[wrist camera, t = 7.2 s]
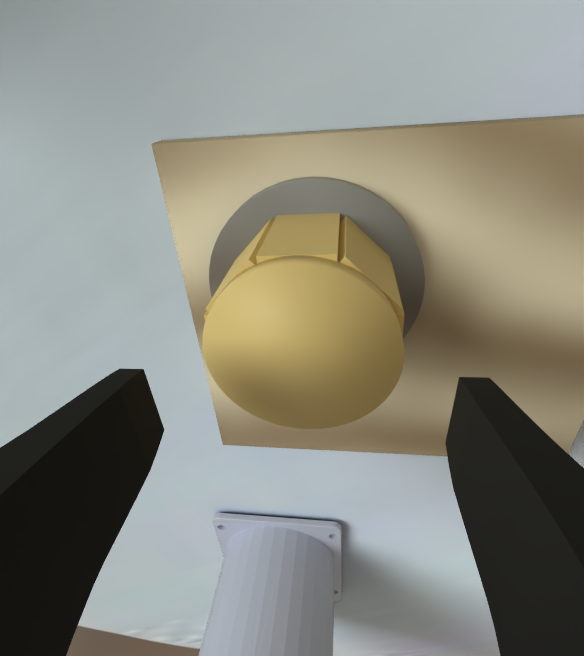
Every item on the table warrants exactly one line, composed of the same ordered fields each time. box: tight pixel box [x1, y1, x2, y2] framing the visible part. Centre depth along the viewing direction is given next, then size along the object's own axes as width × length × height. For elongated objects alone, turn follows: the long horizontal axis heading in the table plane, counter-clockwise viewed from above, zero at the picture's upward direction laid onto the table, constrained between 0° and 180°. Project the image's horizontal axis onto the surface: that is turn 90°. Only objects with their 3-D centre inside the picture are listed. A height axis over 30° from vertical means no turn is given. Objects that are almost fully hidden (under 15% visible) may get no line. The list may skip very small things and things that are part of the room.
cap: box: [202, 213, 404, 429], centre depth 12 cm, size 5×5×4 cm
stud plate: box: [152, 115, 584, 456], centre depth 14 cm, size 14×16×3 cm
